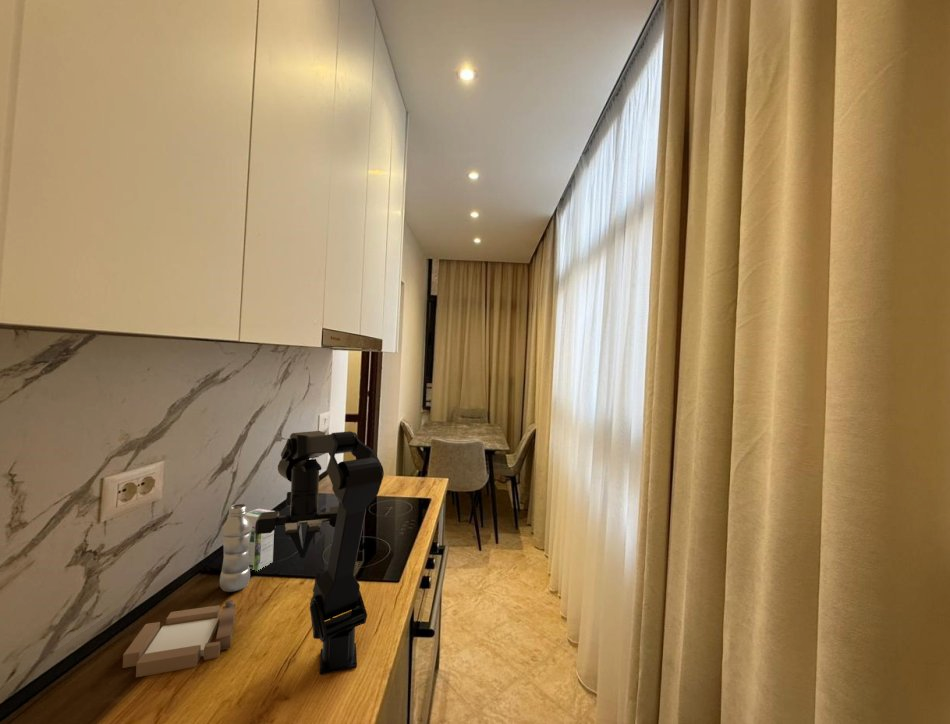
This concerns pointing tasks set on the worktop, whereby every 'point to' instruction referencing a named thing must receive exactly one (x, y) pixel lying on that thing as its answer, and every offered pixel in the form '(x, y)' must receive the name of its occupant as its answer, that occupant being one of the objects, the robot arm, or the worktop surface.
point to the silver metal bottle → (236, 550)
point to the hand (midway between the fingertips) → (302, 557)
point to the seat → (175, 642)
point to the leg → (226, 625)
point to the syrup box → (259, 544)
